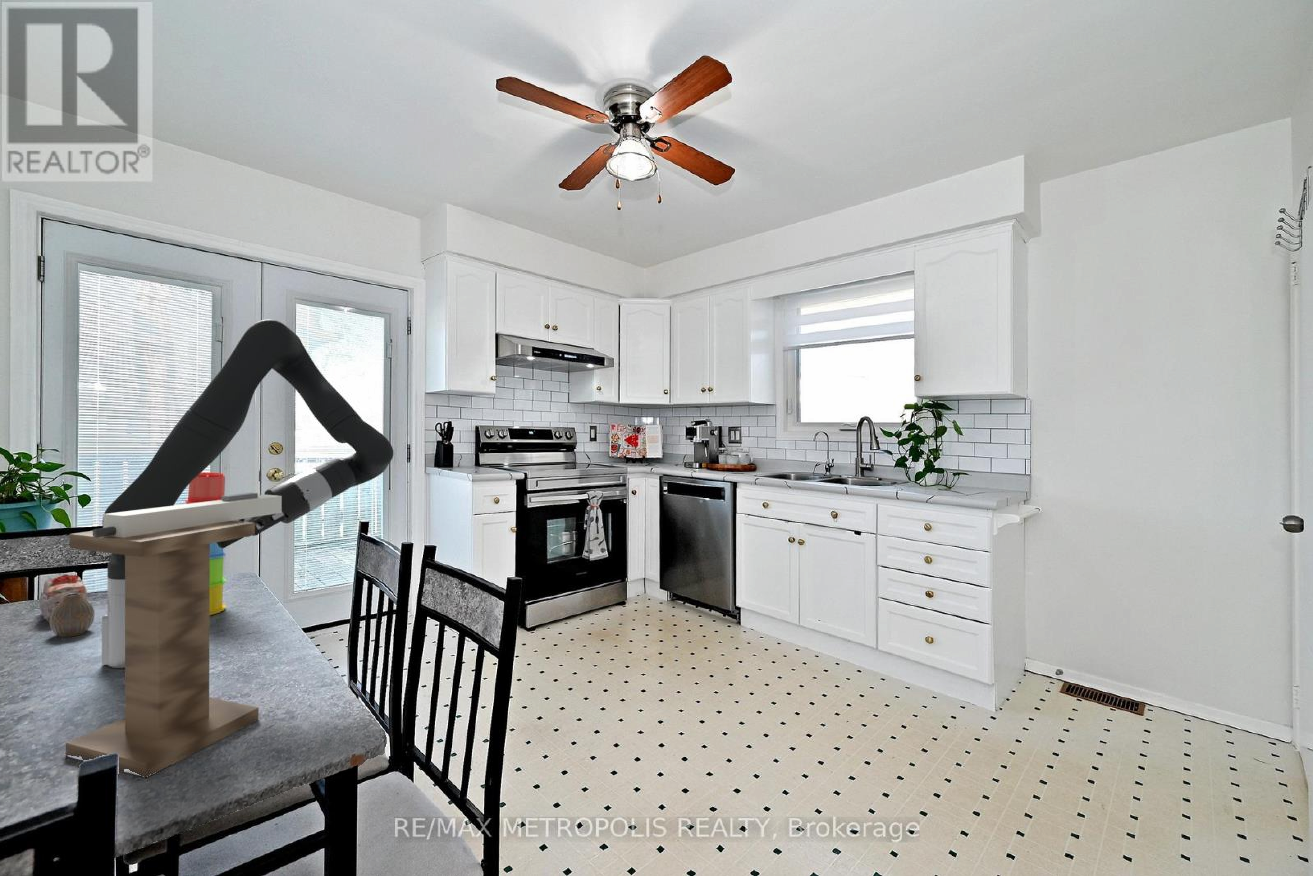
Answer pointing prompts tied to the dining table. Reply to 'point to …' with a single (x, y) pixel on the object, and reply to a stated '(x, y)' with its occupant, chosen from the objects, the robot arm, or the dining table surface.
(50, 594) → the food item
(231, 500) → the white long block
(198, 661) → the stand
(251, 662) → the dining table surface
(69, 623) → the vase
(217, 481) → the stacking cups
